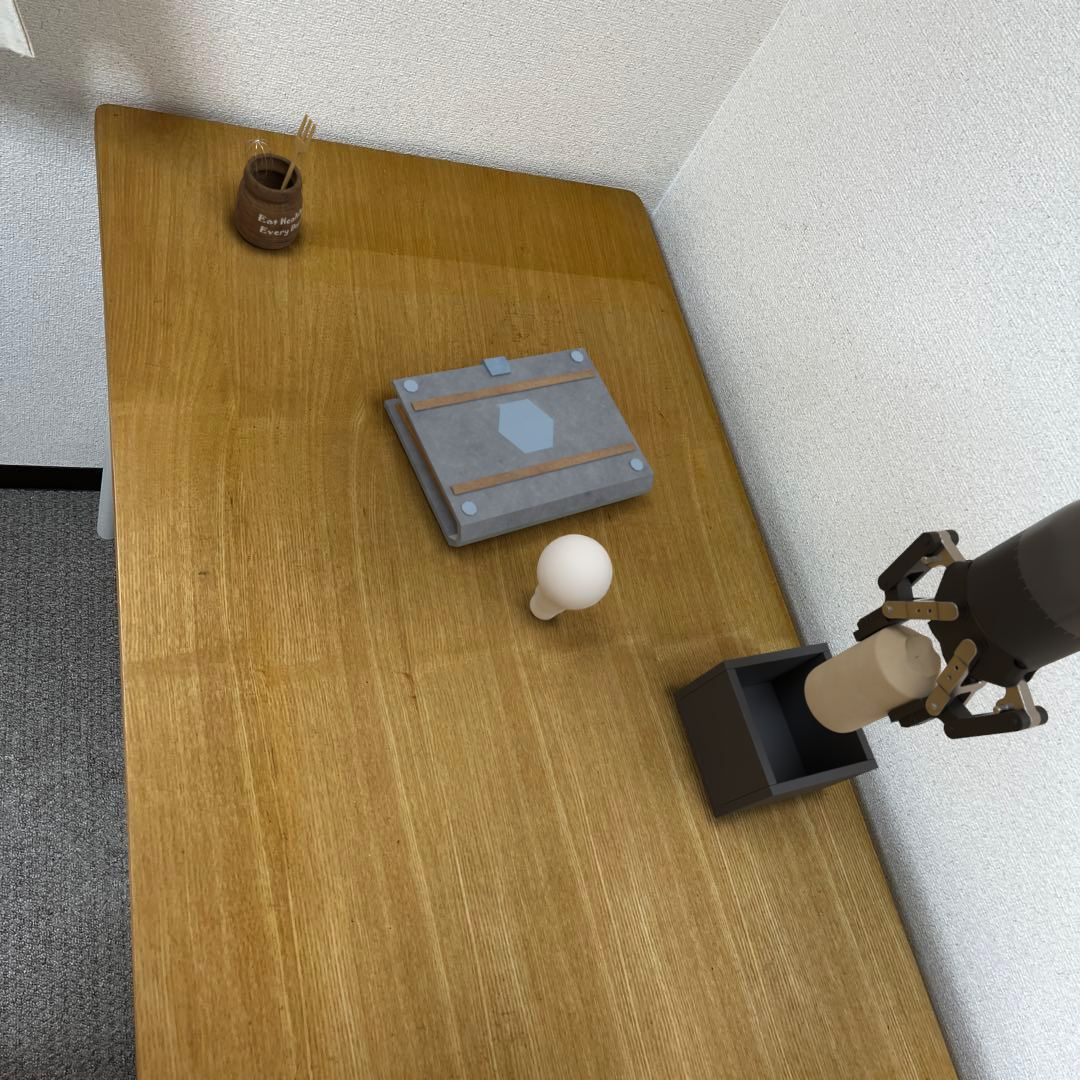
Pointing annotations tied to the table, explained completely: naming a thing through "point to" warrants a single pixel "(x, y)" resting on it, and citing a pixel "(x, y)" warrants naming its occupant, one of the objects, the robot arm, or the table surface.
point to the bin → (765, 731)
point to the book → (516, 443)
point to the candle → (873, 679)
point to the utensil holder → (272, 195)
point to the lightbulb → (570, 576)
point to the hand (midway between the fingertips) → (880, 675)
